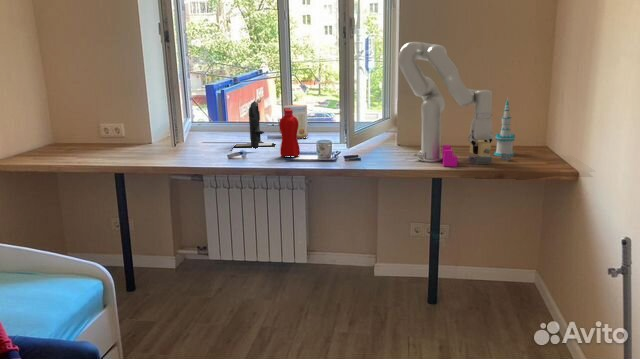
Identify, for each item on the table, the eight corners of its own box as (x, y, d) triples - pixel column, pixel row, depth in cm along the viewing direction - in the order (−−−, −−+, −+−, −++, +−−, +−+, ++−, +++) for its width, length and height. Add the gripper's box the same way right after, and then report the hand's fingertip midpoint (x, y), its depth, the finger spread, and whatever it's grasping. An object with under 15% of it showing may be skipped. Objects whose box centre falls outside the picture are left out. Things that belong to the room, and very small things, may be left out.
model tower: (515, 156, 274) (519, 97, 266) (495, 156, 276) (498, 97, 268) (512, 152, 284) (516, 95, 276) (493, 152, 286) (496, 95, 278)
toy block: (457, 166, 256) (458, 151, 254) (443, 166, 257) (444, 150, 255) (454, 160, 271) (456, 145, 269) (442, 159, 272) (443, 145, 270)
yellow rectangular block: (483, 157, 256) (484, 144, 254) (469, 152, 267) (470, 140, 265) (492, 156, 257) (493, 144, 256) (478, 151, 268) (479, 139, 267)
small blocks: (475, 164, 260) (475, 158, 259) (468, 162, 265) (469, 155, 264) (511, 161, 265) (511, 154, 264) (503, 158, 271) (504, 152, 270)
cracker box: (308, 137, 343) (307, 104, 338) (306, 139, 337) (305, 105, 332) (286, 137, 345) (285, 104, 340) (284, 139, 339) (283, 106, 334)
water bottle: (286, 153, 296) (284, 108, 290) (302, 155, 290) (300, 109, 284) (275, 156, 289) (273, 110, 283) (291, 158, 283) (289, 111, 277)
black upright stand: (236, 142, 333) (233, 96, 326) (277, 141, 334) (275, 95, 326) (229, 153, 302) (225, 102, 295) (274, 152, 303) (271, 101, 295)
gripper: (493, 113, 264) (491, 150, 268) (462, 116, 259) (460, 153, 264) (502, 115, 257) (500, 153, 261) (471, 118, 252) (469, 156, 257)
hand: (480, 152), depth 262 cm, fingers closed on yellow rectangular block, 4 cm apart
